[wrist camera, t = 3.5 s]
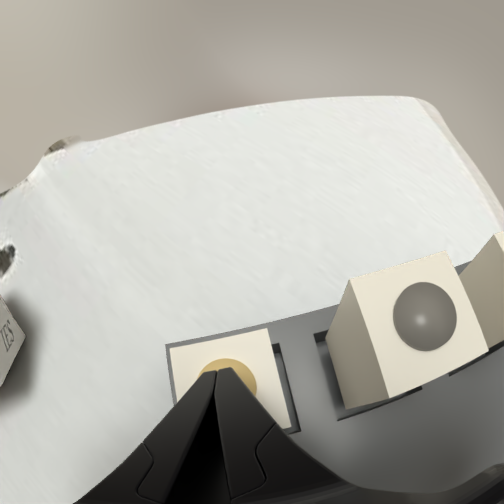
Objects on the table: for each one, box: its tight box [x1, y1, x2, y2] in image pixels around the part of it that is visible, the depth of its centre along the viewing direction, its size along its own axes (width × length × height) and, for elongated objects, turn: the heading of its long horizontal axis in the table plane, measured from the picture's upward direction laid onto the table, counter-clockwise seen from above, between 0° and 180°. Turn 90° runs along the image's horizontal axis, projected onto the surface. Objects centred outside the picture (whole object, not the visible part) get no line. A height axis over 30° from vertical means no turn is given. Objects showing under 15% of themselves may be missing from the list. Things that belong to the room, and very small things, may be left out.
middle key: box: [325, 250, 489, 409], centre depth 9 cm, size 3×3×6 cm
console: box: [165, 261, 504, 493], centre depth 12 cm, size 12×17×3 cm
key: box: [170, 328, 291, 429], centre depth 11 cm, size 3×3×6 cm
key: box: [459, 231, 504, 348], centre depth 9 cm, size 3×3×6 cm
